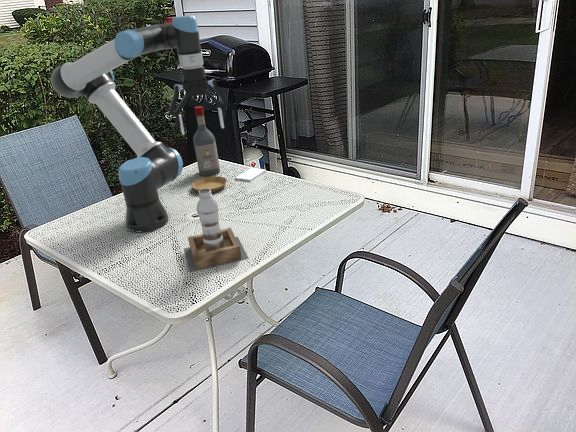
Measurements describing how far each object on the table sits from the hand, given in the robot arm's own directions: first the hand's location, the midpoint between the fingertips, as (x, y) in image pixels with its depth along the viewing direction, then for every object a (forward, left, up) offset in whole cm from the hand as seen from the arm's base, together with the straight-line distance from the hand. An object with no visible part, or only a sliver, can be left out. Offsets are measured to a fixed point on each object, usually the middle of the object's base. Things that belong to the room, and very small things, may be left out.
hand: (203, 130), depth 170 cm
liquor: (+5, +47, -32) cm, 57 cm away
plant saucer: (+2, +28, -32) cm, 43 cm away
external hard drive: (+21, +33, -32) cm, 51 cm away
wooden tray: (-6, -30, -31) cm, 44 cm away
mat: (-6, -30, -32) cm, 44 cm away
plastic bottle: (-6, -30, -30) cm, 43 cm away
